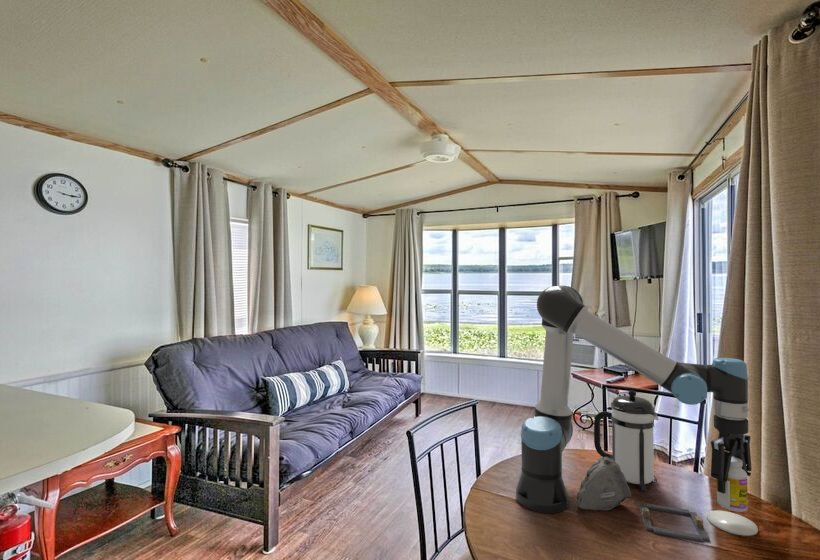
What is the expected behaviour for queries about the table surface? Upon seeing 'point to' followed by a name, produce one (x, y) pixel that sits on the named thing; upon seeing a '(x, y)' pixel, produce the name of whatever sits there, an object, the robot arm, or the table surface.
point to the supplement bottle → (737, 486)
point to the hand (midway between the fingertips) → (731, 500)
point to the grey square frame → (696, 520)
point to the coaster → (732, 523)
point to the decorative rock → (603, 486)
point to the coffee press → (631, 438)
